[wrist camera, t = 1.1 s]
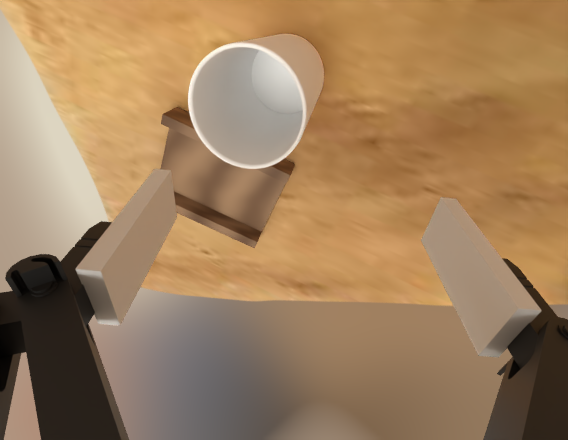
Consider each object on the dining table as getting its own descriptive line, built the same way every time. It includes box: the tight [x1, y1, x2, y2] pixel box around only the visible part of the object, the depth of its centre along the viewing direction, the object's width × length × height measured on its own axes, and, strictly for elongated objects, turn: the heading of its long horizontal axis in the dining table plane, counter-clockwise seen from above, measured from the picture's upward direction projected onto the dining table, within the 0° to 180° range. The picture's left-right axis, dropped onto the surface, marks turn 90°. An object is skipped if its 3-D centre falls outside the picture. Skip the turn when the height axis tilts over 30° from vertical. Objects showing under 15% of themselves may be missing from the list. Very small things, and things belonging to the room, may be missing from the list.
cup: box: [188, 33, 324, 169], centre depth 28 cm, size 8×8×16 cm
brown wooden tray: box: [161, 107, 295, 248], centre depth 41 cm, size 16×12×4 cm
